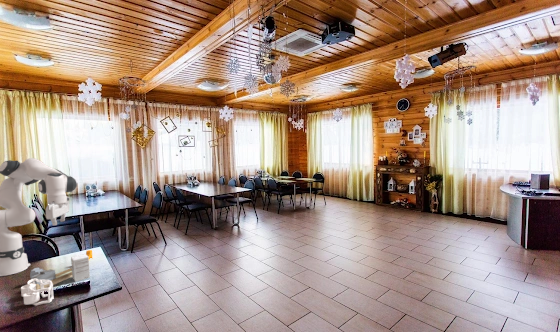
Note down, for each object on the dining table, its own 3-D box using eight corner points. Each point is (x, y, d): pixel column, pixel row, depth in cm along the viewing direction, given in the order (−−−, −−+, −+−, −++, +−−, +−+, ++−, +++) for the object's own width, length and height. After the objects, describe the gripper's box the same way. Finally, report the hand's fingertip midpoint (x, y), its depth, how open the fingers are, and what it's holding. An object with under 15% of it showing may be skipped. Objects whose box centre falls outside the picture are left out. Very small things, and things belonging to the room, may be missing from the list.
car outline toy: (20, 296, 142) (19, 282, 141) (48, 287, 150) (47, 274, 149) (25, 310, 128) (24, 295, 128) (55, 300, 136) (54, 286, 136)
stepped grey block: (34, 281, 157) (33, 268, 157) (43, 280, 158) (42, 267, 158) (30, 285, 153) (29, 271, 153) (39, 284, 154) (38, 270, 154)
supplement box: (72, 278, 160) (70, 257, 159) (87, 273, 166) (85, 253, 165) (74, 282, 155) (73, 260, 154) (90, 277, 160) (88, 256, 160)
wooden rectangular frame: (29, 289, 148) (27, 275, 147) (74, 270, 170) (73, 257, 170) (37, 291, 145) (36, 276, 145) (82, 272, 168) (82, 259, 168)
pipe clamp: (86, 259, 189) (85, 250, 189) (92, 259, 189) (91, 250, 189) (73, 266, 177) (72, 257, 177) (80, 266, 177) (79, 256, 177)
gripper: (54, 202, 155) (56, 227, 156) (70, 197, 174) (72, 218, 175) (41, 203, 153) (43, 228, 154) (59, 198, 173) (60, 219, 173)
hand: (58, 223), depth 165 cm, fingers open, 8 cm apart
